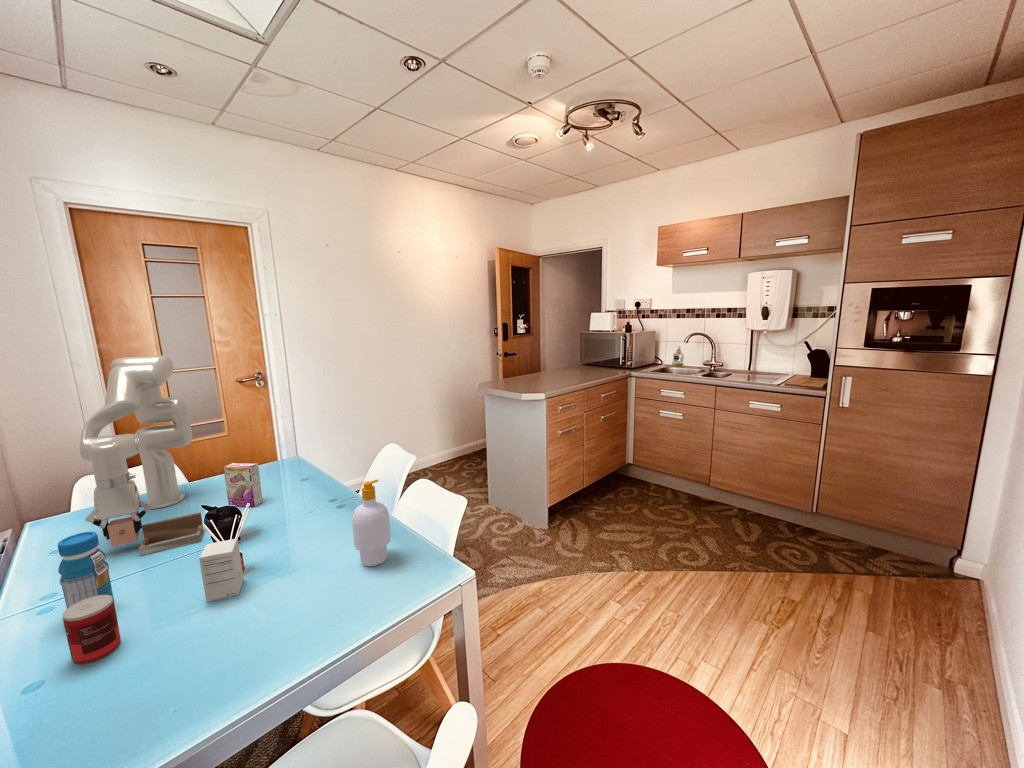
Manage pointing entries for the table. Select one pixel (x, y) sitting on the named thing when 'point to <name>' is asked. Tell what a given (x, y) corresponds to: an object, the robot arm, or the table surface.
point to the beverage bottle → (83, 568)
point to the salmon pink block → (122, 531)
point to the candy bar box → (243, 484)
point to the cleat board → (171, 533)
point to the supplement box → (221, 569)
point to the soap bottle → (371, 527)
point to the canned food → (91, 628)
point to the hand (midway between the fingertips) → (123, 533)
